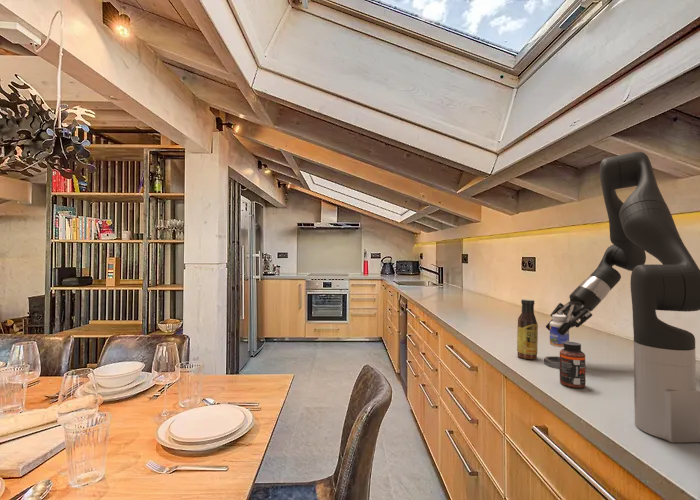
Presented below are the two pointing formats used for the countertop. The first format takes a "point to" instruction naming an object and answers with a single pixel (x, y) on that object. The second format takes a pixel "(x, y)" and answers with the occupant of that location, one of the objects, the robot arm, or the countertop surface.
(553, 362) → the locating collar
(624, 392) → the countertop surface
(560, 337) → the pill bottle
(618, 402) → the countertop surface
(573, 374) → the supplement bottle
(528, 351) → the sauce bottle
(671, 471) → the countertop surface
